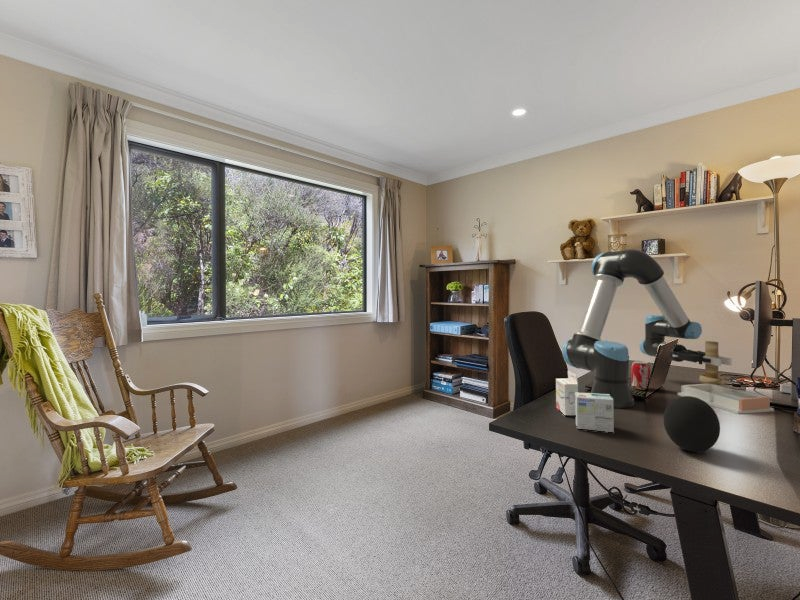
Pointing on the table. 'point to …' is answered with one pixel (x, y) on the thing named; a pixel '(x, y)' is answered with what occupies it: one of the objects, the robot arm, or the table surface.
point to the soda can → (640, 373)
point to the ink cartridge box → (566, 394)
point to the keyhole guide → (728, 398)
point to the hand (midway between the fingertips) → (725, 362)
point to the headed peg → (711, 370)
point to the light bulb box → (594, 411)
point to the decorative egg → (691, 424)
